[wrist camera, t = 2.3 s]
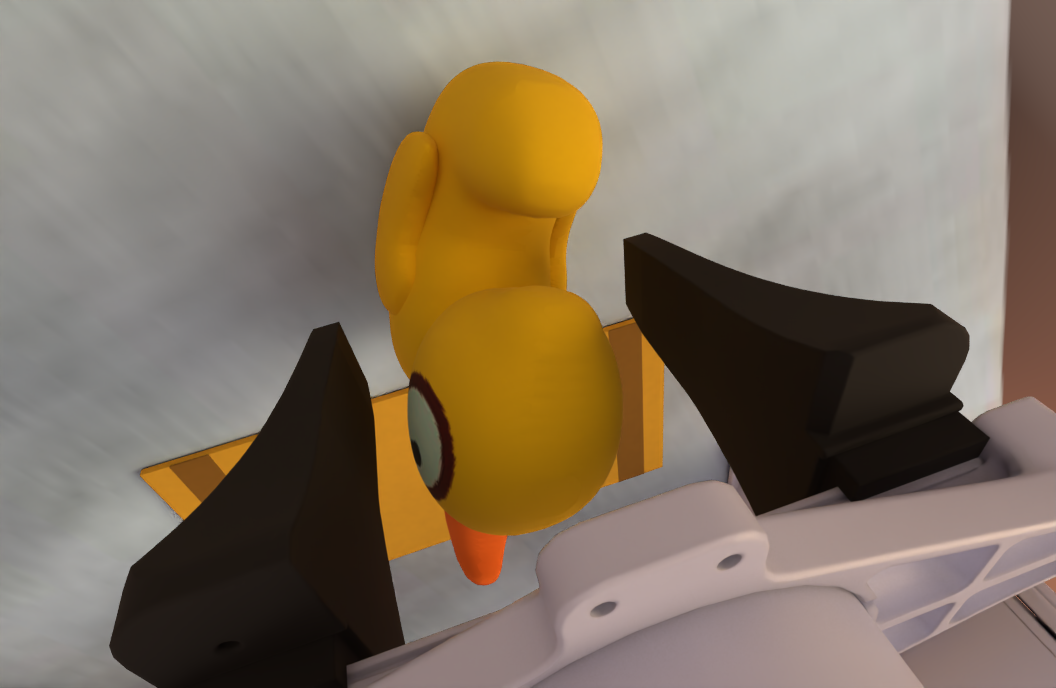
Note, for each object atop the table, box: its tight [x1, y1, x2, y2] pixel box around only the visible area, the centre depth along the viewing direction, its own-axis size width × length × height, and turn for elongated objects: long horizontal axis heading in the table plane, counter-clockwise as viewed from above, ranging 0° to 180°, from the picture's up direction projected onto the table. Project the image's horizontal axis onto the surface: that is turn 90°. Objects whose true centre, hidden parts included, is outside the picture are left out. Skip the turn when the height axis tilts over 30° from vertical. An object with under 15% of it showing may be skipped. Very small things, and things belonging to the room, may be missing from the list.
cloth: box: [140, 318, 664, 560], centre depth 25 cm, size 20×10×1 cm, turn 99°
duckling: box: [375, 62, 623, 585], centre depth 14 cm, size 11×5×10 cm, turn 166°
